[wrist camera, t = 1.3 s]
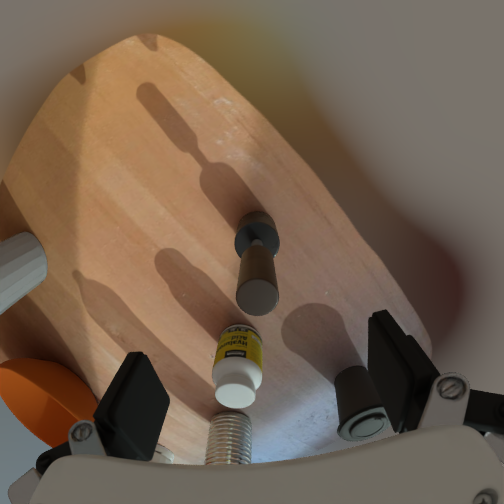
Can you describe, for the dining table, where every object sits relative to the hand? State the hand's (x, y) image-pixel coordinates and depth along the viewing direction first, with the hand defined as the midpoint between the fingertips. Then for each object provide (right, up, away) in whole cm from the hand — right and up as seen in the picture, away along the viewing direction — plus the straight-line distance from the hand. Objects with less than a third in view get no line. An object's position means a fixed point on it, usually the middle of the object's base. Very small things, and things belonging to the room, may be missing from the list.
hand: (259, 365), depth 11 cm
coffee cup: (+14, -14, +26) cm, 33 cm away
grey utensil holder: (-33, +4, +21) cm, 39 cm away
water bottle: (-4, -23, +30) cm, 38 cm away
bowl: (-36, -22, +30) cm, 51 cm away
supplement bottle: (-2, -7, +24) cm, 25 cm away
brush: (0, +7, +19) cm, 20 cm away
